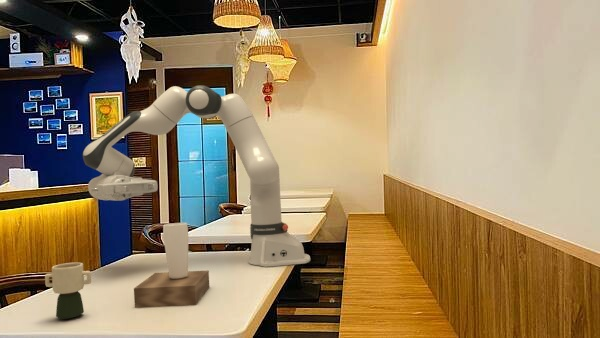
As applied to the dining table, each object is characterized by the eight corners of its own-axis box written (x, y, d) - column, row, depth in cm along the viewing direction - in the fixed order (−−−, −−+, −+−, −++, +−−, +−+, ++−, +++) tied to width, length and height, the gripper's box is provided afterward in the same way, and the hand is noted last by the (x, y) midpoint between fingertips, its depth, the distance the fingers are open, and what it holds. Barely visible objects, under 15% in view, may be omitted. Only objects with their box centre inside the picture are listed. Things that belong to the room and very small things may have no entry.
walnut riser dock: (209, 287, 145) (208, 270, 145) (195, 304, 127) (194, 285, 127) (155, 289, 145) (155, 272, 145) (134, 307, 127) (133, 288, 127)
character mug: (97, 311, 126) (94, 260, 126) (88, 319, 119) (85, 266, 119) (52, 314, 125) (50, 263, 124) (41, 323, 117) (38, 269, 117)
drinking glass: (184, 279, 133) (180, 224, 134) (161, 280, 135) (158, 225, 135) (195, 274, 140) (191, 222, 140) (173, 275, 141) (170, 223, 142)
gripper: (88, 180, 162) (109, 179, 153) (143, 177, 177) (166, 176, 168) (89, 199, 162) (110, 200, 153) (144, 194, 177) (166, 194, 168)
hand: (140, 187), depth 161 cm, fingers open, 8 cm apart
